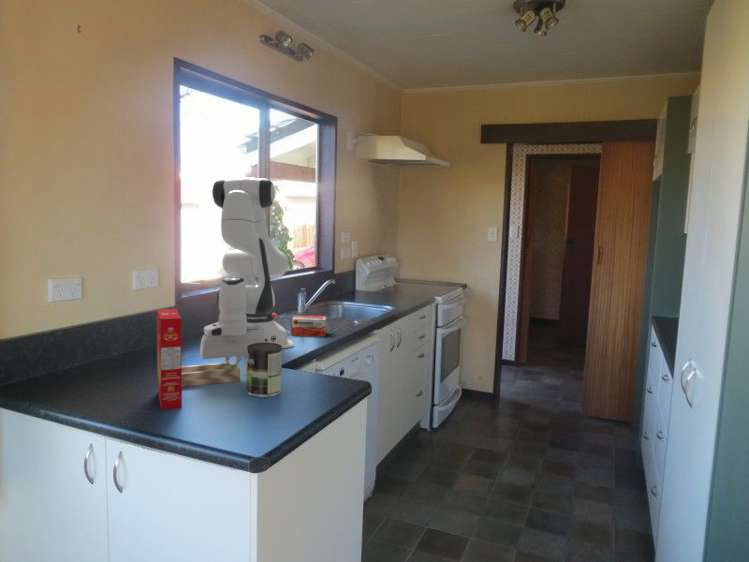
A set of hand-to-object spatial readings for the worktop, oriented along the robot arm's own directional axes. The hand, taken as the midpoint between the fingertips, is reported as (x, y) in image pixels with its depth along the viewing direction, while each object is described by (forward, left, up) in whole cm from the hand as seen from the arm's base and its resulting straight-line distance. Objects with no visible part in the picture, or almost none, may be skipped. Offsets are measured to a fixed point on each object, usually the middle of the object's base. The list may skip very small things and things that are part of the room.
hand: (232, 369), depth 185 cm
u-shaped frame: (+9, 0, -3) cm, 9 cm away
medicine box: (-47, -55, -3) cm, 72 cm away
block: (-8, 0, -3) cm, 8 cm away
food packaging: (+22, +16, -3) cm, 27 cm away
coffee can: (-5, +18, -3) cm, 19 cm away
